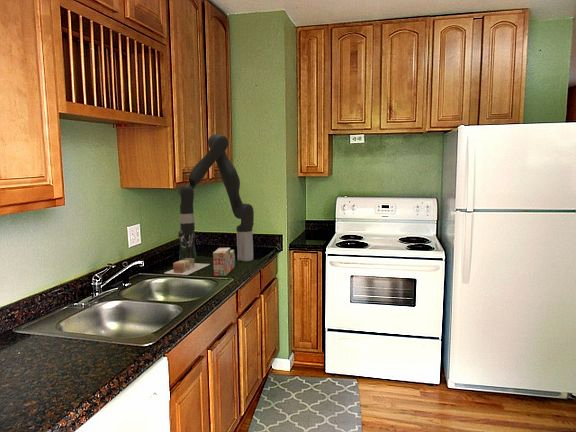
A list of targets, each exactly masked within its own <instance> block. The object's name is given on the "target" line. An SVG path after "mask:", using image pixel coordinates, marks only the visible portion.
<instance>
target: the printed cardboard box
mask: <svg viewBox="0 0 576 432" xmlns="http://www.w3.org/2000/svg"><path fill="white" fill-rule="evenodd" d="M212 258H213V259H212V262H213V263H212V265H213V276H214V277H226V276H227V275H228V274H229V273H230V272H231V271H232V270H233V269H234V268H235V267H236V254H235V249H231V247H218V248H217V249H216V250H215V251H212Z"/></svg>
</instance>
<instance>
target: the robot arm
mask: <svg viewBox="0 0 576 432" xmlns="http://www.w3.org/2000/svg"><path fill="white" fill-rule="evenodd" d="M207 145H208V148H209V150H208V151H207V152H206V154H205V155H204V156H203V157H202V158H201V159H200V160H199V161H198V162H197V163H196V164H195V166H194V167H193V168H192V169H191V171H190V172H191V173H190V172H189V174H190V175H189V174H188V176H189V181H190V185H184V186H182V187H180V186H179V187H178V189H177V193H178V194H179V196H180V204H179V224H180V225H179V226H180V230H179V231H182V232H183V233H182V238H180V241H181V243H182V245H183V246H185V247H186V253H187V254H190V253H191V246H192V245H193V244H194V243H195V241H196V239H197V235H196V234H195V235H194V234H193V231H194V232H195V229H196V227H195V224H196V223H195V213H194V199H195V198H194V197H195V192H194V189H195V188H196V186H197V185H198V184H200V183H201V181H202V180H203V179H204V177H205V175H206V174H207V173H208V171H209V170H210V168H211V167H212V166H213V165H214V163H216V166H217V170H218V172H219V175H220V177H221V180H222V183H223V185H224V189H225V191H226V193H227V197H228V198H229V202H230V206H231V210H232V214H233V216H234V217H235V218H236V219H239V220H240V224H238V225H236V249H237V250H236V251H237V261H241V262H250V261H253V260H254V239H253V237H254V236H253V235H254V234H253V227H254V224H255V223H254V219H255V217H254V216H255V211H254V207H253V205H251V204H250V203H243V201H242V198H241V195H240V187H241V181H240V176H239V175H238V172H237V168H235V166H234V164H233V163H232V161H231V159H229V157H228V154H227V152H226V150H227V149H228V148H229V145H230V144H229V140H228V138H227V136H226V135H224V134H217V133H216V134H211V135H210V136H209V138H208V139H207Z"/></svg>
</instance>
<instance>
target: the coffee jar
mask: <svg viewBox="0 0 576 432" xmlns="http://www.w3.org/2000/svg"><path fill="white" fill-rule="evenodd" d="M182 233H183V232H182V231H181V230H179V231H178V235H177V237H178V241H179V261H180V260H183V259H185V258H191V259H194V262H195V261H196V260H198V259H197V251H196V244H195V243H196V242H194V244H193V245H192V246H191V253H190V254H187V253H186V247H185V246H183V245H182V243H181V241H180V238H182ZM193 234H194V235H196V233H195V230H194V231H193Z"/></svg>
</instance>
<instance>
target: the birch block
mask: <svg viewBox="0 0 576 432" xmlns="http://www.w3.org/2000/svg"><path fill="white" fill-rule="evenodd" d="M194 263H195V261H194V259H191V258H185V259H183V260H180V259H179V260H178V261H175V262H173V263H172V265H173V266H172V268H173V269H174V273H184V272H186V271H188V270H190V269H193V268H194Z"/></svg>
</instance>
